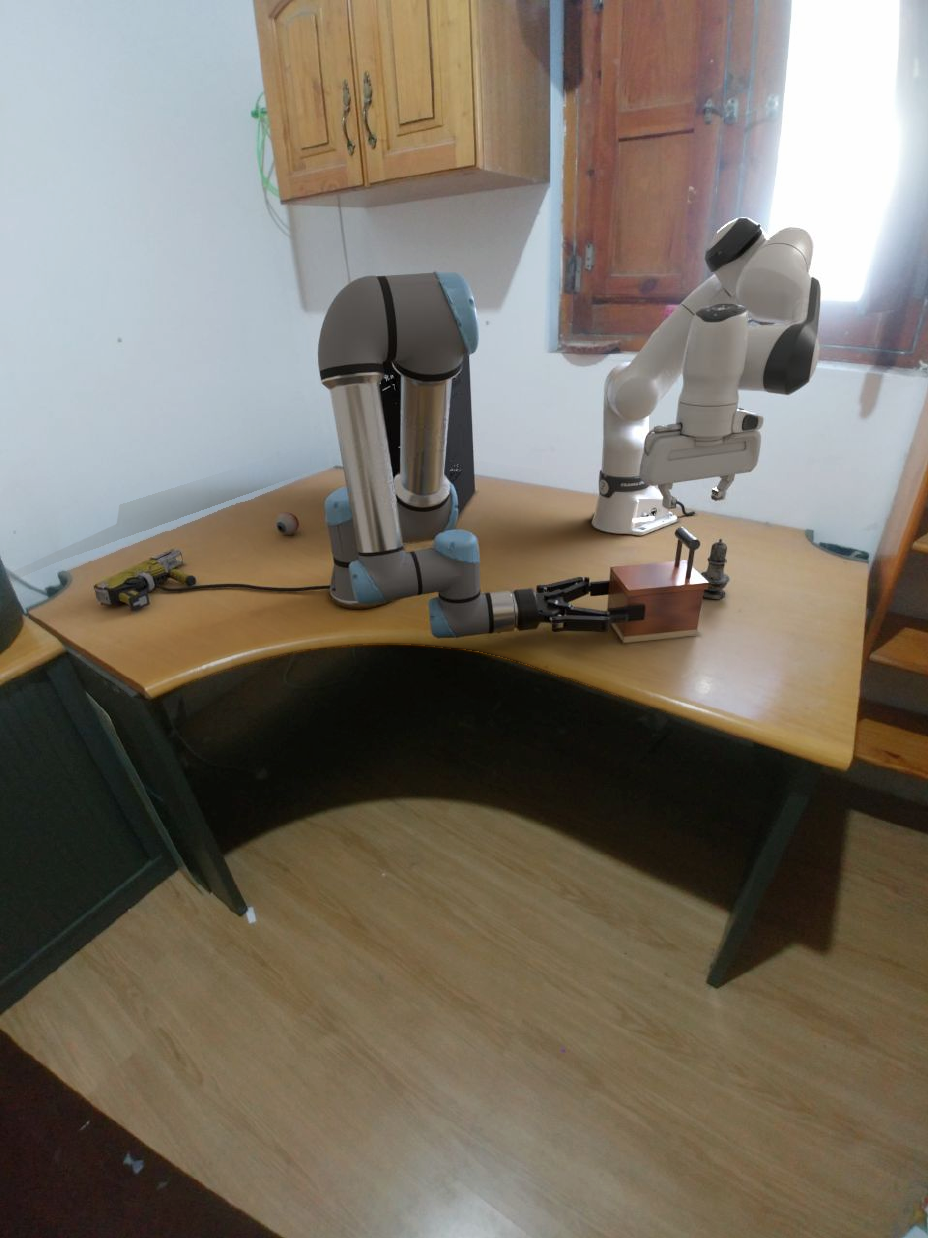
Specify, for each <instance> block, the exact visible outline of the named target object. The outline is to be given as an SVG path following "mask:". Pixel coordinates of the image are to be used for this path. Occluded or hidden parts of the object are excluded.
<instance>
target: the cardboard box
mask: <svg viewBox="0 0 928 1238" xmlns="http://www.w3.org/2000/svg"><path fill="white" fill-rule="evenodd" d="M470 364H471V363H470V355H469V356H467V355H463V363H462V369H461V371H460V373H459V374H458V375H457V376H456V377H454V378H453V379H452V384H451V395H450V407H449V419H448V431H447V443H446V455H445V467H444V475H445V476H446V477H447V478H448V480H449V481H450V482H451V483H452V484H453V486H454V488H455V490H456V494H457V499H458V506H457V509H458V517H460V515H461V513H462V512H463V510H464V509H465V507H466V506H467V504H468V503H469V501H470V500H471V499H472V497H473V495H474V494H475V492H476V482H475V480H476V477H475V459H474V457H475V455H474V432H473V412H472V410H473V409H472V388H471V387H472V386H471V367H470V366H471V365H470ZM383 370H384V378H383V379H382V381H381V382H380V385H379V388H380V394H381V401H382V407H383V414H384V421H385V427H386V434H387V440H388V447H389V453H390V460H391V467H392V473H393V480H394V478H395V476H396V475H397V474H398V473H399V472H400V450H401V375H400V374H399V373H398V372H397V371H396V370H395V369H394V367H393V365H392V361H390V362H383Z"/></svg>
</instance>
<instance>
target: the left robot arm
mask: <svg viewBox="0 0 928 1238" xmlns="http://www.w3.org/2000/svg"><path fill="white" fill-rule="evenodd" d="M474 299H475V298H474V296H473V292H472V289H471V288H470V285H469V283H468V282H467V280H466V279H465V277H464V276H463V275H461V273H459V272H453V271H452V272H450V271H449V272H439V271H437V270H433V271H432V272H423V273H408V274H407V273H406V274H404V273H403V274H391V275H390V274H389V275H365V276H362V277H358V278H356V279H353V280H352V281H350V282H349V283H347V284H346V285H345V286H344V287H343V288H342V289H341V290H340V291H339V292H338V293H337V294H336V295H335V297H334V298H333V300H332V301H331V303H330V305H329V307H328V309H327V311H326V313H325V315H324V318H323V321H322V323H321V328H320V331H319V332H320V333H319V338H318V343H317V365H318V371H319V372H318V373H319V379H320V382H321V385H323V386H324V387H325V388H326V389H327V390H328V391H329V395H330V400H331V406H332V412H333V417H334V418H333V419H334V422H335V423H334V424H335V429H336V435H337V441H338V445H339V452H340V458H341V462H342V469H343V474H344V480H345V484H346V485H345V486H342V487H340V488H338V489H335V490H334V491H332V492H331V493H330V494H329V495H328V496H327V497H326V499H325V500H324V515H325V518H324V522H325V524H326V525H327V530H328V531H327V532H328V537H329V543H330V550H331V555H332V560H333V567H332V574H331V579H330V584H325V585H312V586H302V587H301V586H300V587H275V586H273V587H272V586H260V585H253V584H245V583H215V584H199V585H193V586H185V587H166V586H164V585H161V584H154V585H155V587H154V589H160V590H161V591H164V592H170V593H172V592H173V593H176V592H177V593H179V592H186V591H187V592H188V591H194V590H204V589H205V590H206V589H218V588H245V589H251V590H257V591H258V590H259V591H267V592H268V591H271V592H305V591H317V590H329V594H330V599H331V601H332V602H333V604H334V605H337V606H339V607H342V608H346V609H351V610H364V609H365V610H366V609H373V608H377V607H380V606H383V605H387V604H388V603H391V602H392V601H397V600H402V599H406V598H411V597H416V596H422V595H423V596H424V595H428V594H433V593H434V594H435V593H437V595H438V596H435V597H431V598H430V599H428V602H427V605H428V615H429V617H428V618H429V626H430V632H431V635H432V636H433V638H435V639H458V638H463V637H472V636H478V635H486V634H487V635H491V634H501V633H509V632H514V631H515V629H516V630H517V631H519V632H520V631H521V632H522V631H531V630H537V629H538V627H539V625H540V624H541V623H546V624H550V627H551V629H550V630H551V632H553V633H559V632H565V631H566V632H589V633H590V632H592V633H609V631H610V625H611V624H612V623H622V622H629V621H639V620H644V617H645V608H646V606H645V605H636V606H625V607H616V608H608V611H607V610H601V609H595V608H589V607H588V608H587V607H581V606H575V605H573V604H572V603H571V602H573V601H576V600H577V599H580V598H582V597H584V596H587V595H589V596H590V597H599V596H608V593H609V580H610V579H608V580H598V581H591V578H590V577H589V576H584V577H583V576H576V577H573V578H569V579H565V580H559V581H556V582H552V583H547V584H536V586H535V590H534V589H533V588H532V587H530V588H522V589H521V588H519V589H514V591H512V592H511V590H509V589H507V590H498V591H490V592H482V591H481V557H480V547H479V540H478V538H477V536H476V535H475V534H474V533H472V531H469V530H465V529H458V528H457V529H455V528H456V526H457V523H458V519H459V516H458V509H457V506H458V499H457V494H456V490H455V488H454V486H453V484H452V483H451V482H450V481H449V480H448V478H447V477H446V476H445V475H444V467H445V455H446V443H447V431H448V419H449V407H450V395H451V384H452V379H453V378H454V377H456V376H457V375H458V374H459V373H460V371H461V369H462V363H463V355H467V356H469V357H470V355H472V354H474V353H476V351H477V349H478V348H479V347H478V346H479V341H480V340H479V339H480V333H479V331H480V330H479V321H478V320H479V319H478V312H477V308H476V303H475V300H474ZM390 361H392V365H393V367H394V369H395V370H396V371H397V372H398V373H399V374H400V375H401V450H400V472H399V473H398V474H397V475H396V476H395V478H394V480H393V473H392V467H391V460H390V453H389V447H388V440H387V434H386V427H385V421H384V414H383V407H382V401H381V394H380V388H379V385H380V384H381V383H380V382H381V381H382V379H383V378H384V370H383V362H390ZM428 540H433V547H429V548H422V549H417V550H411V551H405V547H404V544H408V543H415V542H422V541H428Z"/></svg>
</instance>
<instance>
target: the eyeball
mask: <svg viewBox="0 0 928 1238" xmlns="http://www.w3.org/2000/svg"><path fill="white" fill-rule="evenodd" d="M299 525H300V522H299V519H298V517H297V516H296V515H295V514H294V513H292V512H287V511H286V512H282V513H280V514H279V515H278V516H277V517H276V520H275V527H276V529H277V530H278V531H279V532H280V533H281V534H282V535H285V536H286V535H287V536H289V535H293V534H295V533H296V532H297V531H298V529H299Z"/></svg>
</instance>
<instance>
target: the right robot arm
mask: <svg viewBox="0 0 928 1238" xmlns="http://www.w3.org/2000/svg"><path fill="white" fill-rule="evenodd" d="M762 227H763V226H762V224H761V223H757V222H756V221H754V220H752V219H751V218H749V217H737V218H735V219H734V220H732V221H729V222H728V223H726V224H725V225H723V226H721V228H720V229H719V230H718V231H717V232H716V233H715V234H714V235H713V237H712V239H711V241H710V243H709V245H708V247H707V248H706V250H705V253H704V261H705V264H706V266H707V268H708V269H709V271H710V272H711V273H713V274H712V275H711V276H710V277H708V278H707V279H706V280H705V281H703V282H702V283H701V284H699V286H697V287H696V288H695V289H694V290H693V291H691V292H690V294H689V295H687V296H686V297H685V299H683V301H681V303H680V304H679V305H678V306H676V308H675V309H674V310H672V312H671V313H670V314H669V315H668V316H667V317H666V318H665V319H664V320H663V321H662V323H661V324H659V326H658V327H657V328H656V329H655V330H654V331H653V332H652V333H651V335H650V336H649V338H648V340H647V341H646V343H644V345H643V346H642V348H641V349H640V350H639V352H638V353H637V354H636V355H635V356H634V358H633V359H632V360H631V361H626V362H622V363H619V364H618V365H617V364H616V366H614V367H613V368H612V369H611V370H610V371H609V372H608V374H607V376H606V378H605V381H604V385H603V411H602V412H603V413H602V414H603V415H602V416H603V417H602V453H601V468H600V470H599V474H598V492H599V493H598V498H597V502H596V507H595V511H594V514H593V517H592V520H591V525H592V526H593V527H594V528H595V529H597V530H599V531H601V532H605V533H611V534H623V535H625V534H626V535H632V536H633V535H634V536H645V535H646V534H650V533H652V532H654V531H657V530H660V529H662V528H665V527H668V526H670V525H672V524H675V523H677V522H678V516H677V515H676V514H675V513H674V512H672V511H670V510H673V509H677V505H679V506H680V508H681V512H682V514H683V516H686V517H687V516H688V517H690V516H692V515H695V514H696V511H695V510H692V511H689V512H686V507H685V504H683V503H682V502H681V501H679V500H678V499H677V497H675V496H673V495H672V494H671V492H670V490H673V487H674V486H673V485H674V484H676V483H677V484H678V483H685V482H690V481H698V480H704V479H711V478H718V477H719V478H720V480H719V482H718V484H717V486H716V487H715V488H711V495H710V499H711V500H713V501H715V502H719V501H724V500H725V499H726V493H727V490H728V489H729V488H730V487H731V485H732V484H733V483H734V481H735V476H736V475H739V474H746V473H752V472H753V471H754V469H755V468H756V466H757V465H758V462H759V458H760V454H761V453H760V452H761V444H762V435H761V432H760V431H759V430H760V429H762V427H763V425H764V419H765V418H764V416H763V415H760V414H758V413H755V412H752V411H748V410H745V409H744V408H742V407H739V399H740V396H739V391H747V392H763V393H764V392H765V393H768V394H776V395H784V396H789V395H792V394H794V393H796V392H797V391H799V390H800V389H802V388H803V387H804V386H806V385H807V384H808V383H809V382H810V380H811V378H813V376H814V374H815V371H816V369H817V366H818V363H819V362H818V361H819V357H820V341H819V337H818V333H819V332H818V330H819V323H820V322H819V321H820V314H821V313H820V312H821V298H822V297H821V293H822V291H821V289H822V288H821V284H820V281H819V280H818V279H817V278H815V277H814V276H812V275H810V271H811V268H812V264H813V261H814V260H813V259H814V250H815V249H814V247H815V246H814V242H813V239H812V237H811V235H810V233H809V232H808V231H807V230H806V229H804V228H803V227H800V226H796V225H786V226H782V227H780V228H777V229H776V230H774V231H773V232H772V233H770V234H769V235H768V234H767V233H766V232H765V231H764V230H763V229H762ZM750 323H755V324H750ZM681 376H682V388H681V391H680V393H679V396H678V401H677V409H676V417H675V423H669V424H666V425H665V424H663V425H662V424H661V425H660V424H659V425H656V426H654V427H653V429H651V430H650V415H651V414H653V412H654V411H655V409H656V408H657V405H658V404H659V403H660V402H661V400H663V398H664V397H665V396H666V394H667V393H668V392H669V391H670V389H671V388H672V387H673V385H674V384H675V383H676V382H677V380H678V379H679V377H681ZM655 486H657V488H656V487H655Z"/></svg>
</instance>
